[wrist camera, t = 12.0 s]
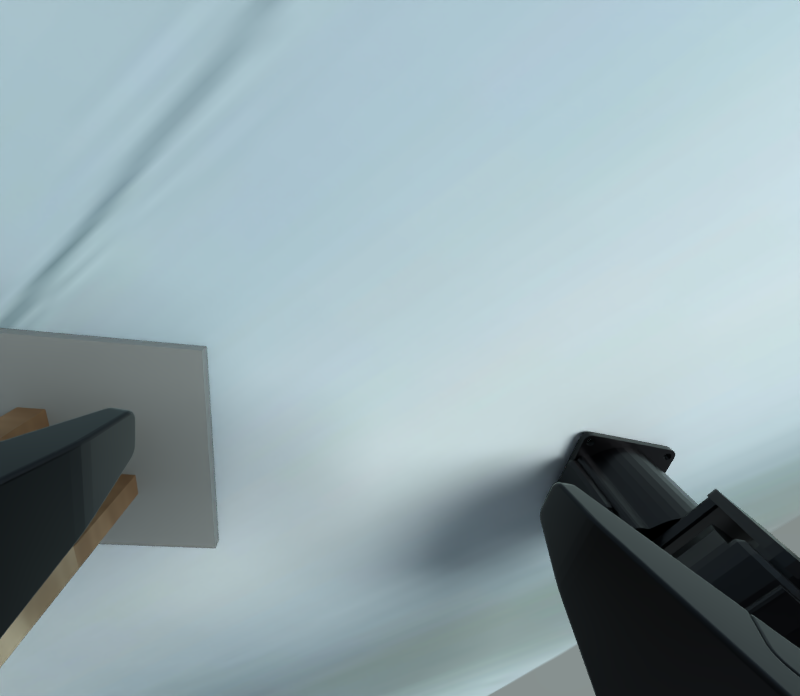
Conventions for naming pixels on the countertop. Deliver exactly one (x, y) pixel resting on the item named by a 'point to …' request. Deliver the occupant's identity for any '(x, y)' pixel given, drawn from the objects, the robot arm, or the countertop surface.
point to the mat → (154, 427)
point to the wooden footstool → (102, 522)
